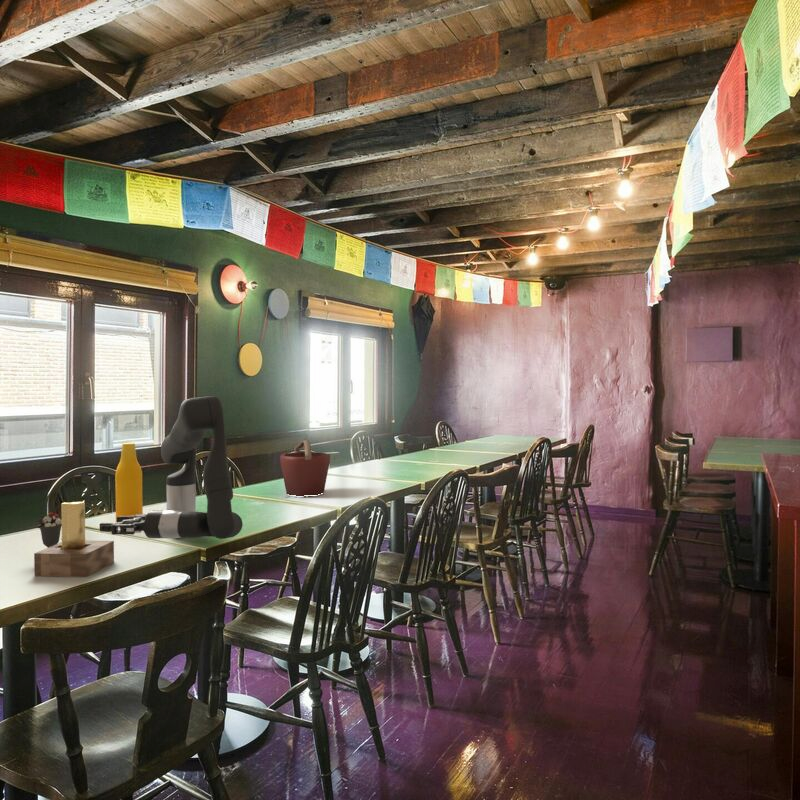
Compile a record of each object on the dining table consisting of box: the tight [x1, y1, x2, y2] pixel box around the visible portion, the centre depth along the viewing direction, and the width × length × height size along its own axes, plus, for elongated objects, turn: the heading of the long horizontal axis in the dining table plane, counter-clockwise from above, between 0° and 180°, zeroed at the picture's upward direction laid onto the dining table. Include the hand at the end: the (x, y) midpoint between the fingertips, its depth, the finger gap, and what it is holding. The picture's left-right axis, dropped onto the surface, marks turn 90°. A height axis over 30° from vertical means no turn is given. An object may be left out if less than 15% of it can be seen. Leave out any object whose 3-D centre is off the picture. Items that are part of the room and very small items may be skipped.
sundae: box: [36, 506, 62, 548], centre depth 177 cm, size 7×7×15 cm
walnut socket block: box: [33, 539, 115, 578], centre depth 168 cm, size 14×14×6 cm
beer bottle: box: [114, 442, 144, 523], centre depth 226 cm, size 9×9×29 cm
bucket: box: [279, 439, 331, 496], centre depth 284 cm, size 24×22×25 cm
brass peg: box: [60, 501, 86, 550], centre depth 168 cm, size 4×6×18 cm
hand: (108, 523), depth 167 cm, fingers open, 8 cm apart
